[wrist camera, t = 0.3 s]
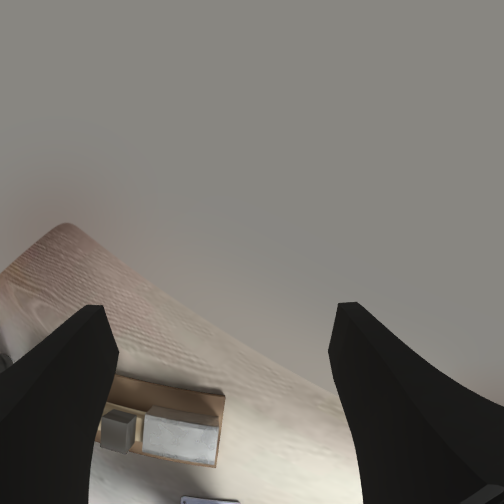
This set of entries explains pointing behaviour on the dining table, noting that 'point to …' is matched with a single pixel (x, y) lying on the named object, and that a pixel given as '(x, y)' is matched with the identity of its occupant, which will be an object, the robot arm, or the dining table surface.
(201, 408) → the base board
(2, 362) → the beverage cup
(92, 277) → the dining table surface
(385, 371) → the robot arm
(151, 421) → the sleeve
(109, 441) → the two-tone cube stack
